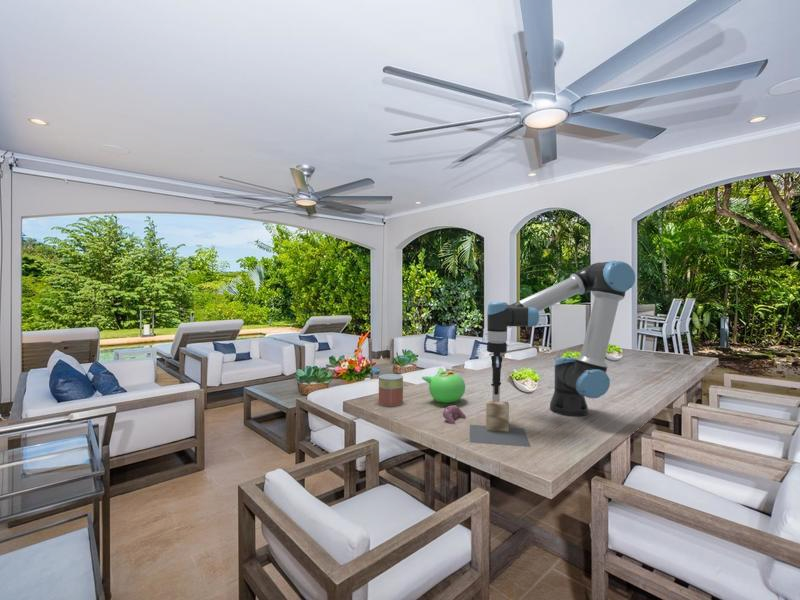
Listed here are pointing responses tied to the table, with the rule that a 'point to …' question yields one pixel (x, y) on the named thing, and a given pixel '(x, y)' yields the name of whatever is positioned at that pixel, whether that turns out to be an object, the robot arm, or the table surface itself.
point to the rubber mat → (499, 436)
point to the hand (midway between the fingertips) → (495, 401)
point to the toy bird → (446, 386)
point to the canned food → (390, 389)
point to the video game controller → (454, 411)
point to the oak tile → (497, 416)
